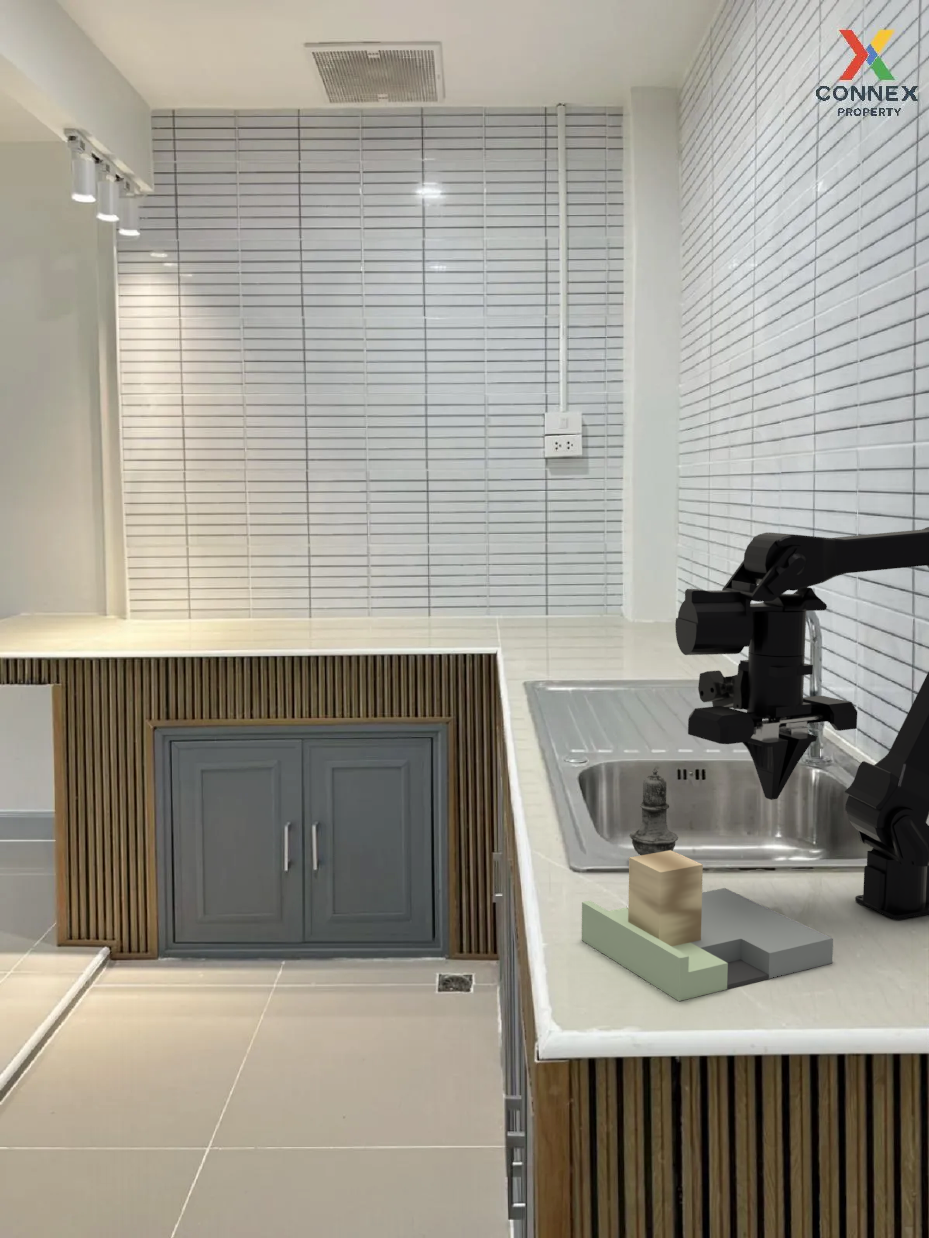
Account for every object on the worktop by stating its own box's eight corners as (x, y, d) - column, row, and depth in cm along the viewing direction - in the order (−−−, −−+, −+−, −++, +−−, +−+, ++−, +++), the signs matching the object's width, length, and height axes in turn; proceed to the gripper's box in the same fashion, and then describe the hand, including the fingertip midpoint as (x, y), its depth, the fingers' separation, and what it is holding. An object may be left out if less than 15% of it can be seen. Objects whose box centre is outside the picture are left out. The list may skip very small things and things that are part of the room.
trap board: (724, 910, 127) (725, 874, 127) (832, 962, 113) (833, 923, 113) (581, 939, 119) (581, 901, 118) (679, 1000, 105) (679, 958, 104)
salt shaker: (644, 874, 139) (646, 775, 138) (620, 859, 145) (621, 765, 143) (687, 868, 141) (689, 771, 140) (661, 854, 147) (662, 760, 145)
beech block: (669, 922, 117) (670, 850, 116) (700, 939, 112) (702, 864, 112) (628, 931, 115) (629, 857, 114) (658, 949, 110) (660, 872, 109)
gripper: (789, 639, 134) (784, 772, 135) (657, 648, 125) (653, 791, 127) (863, 651, 124) (857, 795, 125) (726, 662, 115) (721, 816, 117)
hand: (771, 798), depth 124 cm, fingers closed
